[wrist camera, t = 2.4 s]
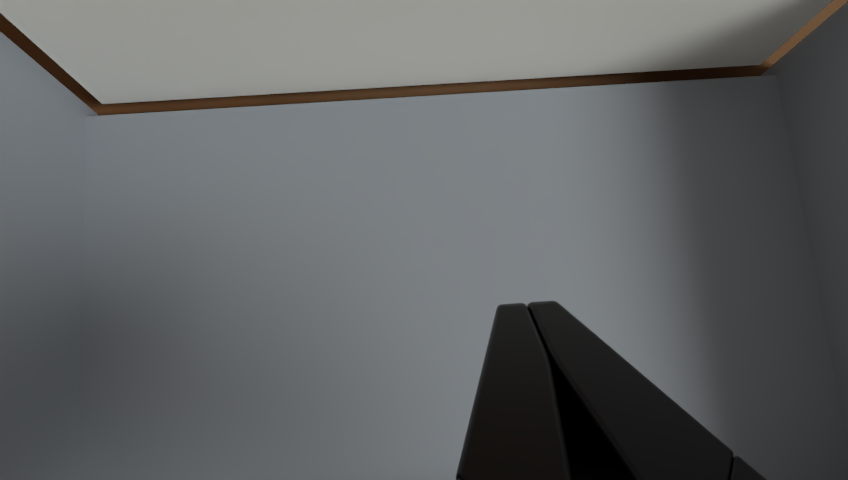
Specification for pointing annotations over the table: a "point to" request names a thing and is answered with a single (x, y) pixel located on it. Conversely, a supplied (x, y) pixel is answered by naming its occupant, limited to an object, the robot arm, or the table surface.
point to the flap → (387, 41)
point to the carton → (415, 268)
